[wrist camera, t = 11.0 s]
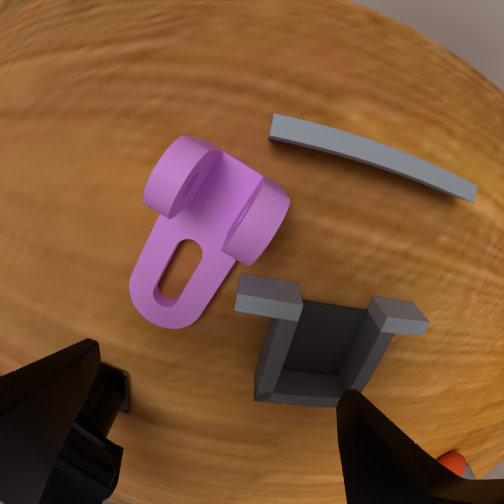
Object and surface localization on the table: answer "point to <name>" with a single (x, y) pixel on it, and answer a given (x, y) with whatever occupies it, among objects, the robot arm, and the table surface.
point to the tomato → (454, 463)
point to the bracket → (202, 225)
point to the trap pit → (318, 355)
